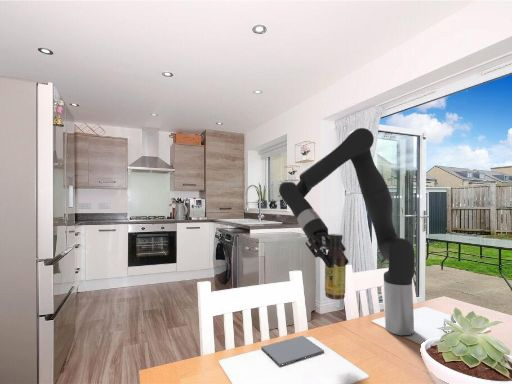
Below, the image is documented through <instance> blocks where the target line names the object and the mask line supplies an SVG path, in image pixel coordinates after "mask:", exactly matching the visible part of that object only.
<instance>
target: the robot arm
mask: <svg viewBox="0 0 512 384" xmlns="http://www.w3.org/2000/svg"><path fill="white" fill-rule="evenodd" d="M374 138H375V137H374V135H373V133H372V131H371V130H369V129H368V128H365V127H358V128H354V129H353V130H351V131H350V132H349V133H348V134H347V136H346V138H345V139H344V140H343V141H342V142H341V143H340V144H338V146H337V147H335V148H334V149H333V150H332V151H331V152H329V153H328V154H326V155H325V156H323V157H322V158H321V159H319V160H317V161H316V162H315V163H313V164H311V166H309V167H308V168H307V169H305V170H304V171H303V172H301V173H300V175H299V181H298V182H297V184H296V183H295V182H294V181H292V180H285V181H283V182H281V183H280V185H279V189H278V193H279V195H280V197H281V198H282V199H283V201H284V202H285V204H286V205H287V206H288V207H289V209H290V210H291V212H292V214H293V216H294V217H295V219H296V221H297V222H298V225H299V227H300V228H301V230H302V232H303V233H304V234H305V237H306V238H307V240H306V241H305V245H306V247H307V248H308V249H309V251H310V252H311V254H312V255H313V257H314V258H319V259H321V260H322V261H323V263H324V265H325V264H326V266H327V267H328V268H331V267H332V266H333V265H334V263H333V262H332V260H331V259H330V257H329V256H328V254H327V253H328V252H327V251H328V250H329V246H330V239H329V234H330V233H329V228H328V227H327V225H326V224H325V222H324V221H323V220H322V218H321V216H320V215H319V214H318V213H317V212H316V211H315V209H314V208H313V207H312V206H311V204H310V202H309V201H307V199H306V198H305V197H306V196H307V195H308V194H309V193H310V192H311V190H312V189H313V188H314V187H316V186H317V185H318V184H320V183H322V181H324V180H325V179H326V178H327V177H329V176H330V175H331V174H332V173H333V172H335V171H336V170H337V169H339V168H340V167H341V166H343V165H344V164H345V163H347V162H348V161H351V163H352V165H353V168H354V171H355V174H356V177H357V178H356V179H357V182H358V186H359V189H360V192H361V195H362V199H363V201H364V205H365V206H366V209H367V211H368V215H369V218H370V220H371V224H372V226H373V230H374V233H375V237H376V242H377V243H376V244H377V247H378V251H379V253H380V256H382V257H383V258H384V259H385V260H386V261H388V270H387V271H385V272H383V294H384V295H383V296H384V299H383V300H384V320H385V321H384V324H385V325H384V326H385V329H386V331H387V332H389V333H391V334H393V335H397V336H402V335H410V336H412V335H411V334H413V333H414V334H415V321H414V319H415V317H414V291H413V279H414V276H415V264H416V263H415V261H416V259H415V258H416V257H415V256H416V253H415V248H414V246H413V244H412V242H411V241H410V240H407V239H405V238H402V237H398V234H397V232H396V230H395V227H394V224H393V218H392V217H393V216H392V215H393V200H392V195H391V193H390V190H389V187H388V185H387V184H388V183H387V182H386V180H385V178H384V176H383V175H382V173H380V171H379V169H378V168H377V166H376V164H375V162H374V159H373V156H372V151H371V148H372V146H373V145H374V140H375V139H374ZM346 250H347V249H346V246H345V245H344V244H343V243H342V251H343V253H344V252H345V251H346ZM348 264H349V260H348V257H347V256H346V255H345V265H346V266H347V265H348ZM414 334H413V335H414Z"/></svg>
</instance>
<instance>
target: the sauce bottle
mask: <svg viewBox="0 0 512 384" xmlns="http://www.w3.org/2000/svg"><path fill="white" fill-rule="evenodd" d="M328 234H329V239H330V246H329V250H327V252H326V253H327V254H328V256H329V257H330V259H331V260H332V262H333V263H334V265H333V266H332V267H331V268H328V267H327V266H326V264H325V263H324V267H325V268H324V291H325V292H324V293H325V297H326V298H328V299H330V300H337V301H338V300H344V299H345V297H346V268H347V267H346V266H347V265H345V256H346V255H345V254H344V252H343V251H342V244H343V234H340V233H328ZM327 254H326V255H327Z"/></svg>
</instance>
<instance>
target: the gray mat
mask: <svg viewBox="0 0 512 384" xmlns="http://www.w3.org/2000/svg"><path fill="white" fill-rule="evenodd" d="M261 350H264V351H265V352H266V353H265V354H267V355H268V354H269V355H270V356H271V357H272V358H273V359H274V360H275V361H276V362H277V363H278V364H279V365H282V364H286V363H289V362H292V363H294V362H293V361H295V362H297V361H296V360H298V361H300V360H299V359H301V360H303V359H302V358H305V357H308V358H310V357H309V356H311V357H314V356H317V355H320V354H322V353H325V349H322V348H321V347H320V346H319V345H318V344H316V343H314V342H313V341H311V340H310V339H308V338H307V337H306V336H304V335H300V336H296V337H292V338H289V339H285V340H281V341H277V342H273V343H270V344H266V345H262V346H261ZM264 351H263V352H264ZM319 353H320V354H319ZM316 354H317V355H316ZM269 355H268V356H269ZM313 355H314V356H313ZM270 356H269V357H270ZM271 357H270V358H271ZM272 358H271V359H272ZM273 359H272V360H273ZM305 359H306V358H305ZM274 360H273V361H274ZM275 361H274V362H275ZM276 362H275V363H276ZM277 363H276V364H277ZM278 364H277V365H278ZM289 364H290V363H289ZM279 365H278V366H279ZM286 365H287V364H286Z"/></svg>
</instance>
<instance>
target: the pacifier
mask: <svg viewBox="0 0 512 384" xmlns="http://www.w3.org/2000/svg"><path fill="white" fill-rule="evenodd" d="M450 322H451V323H452V322H453V323H456V321H455V320H454V318H453V315H452V314H451V315H450ZM445 326H446V324H445V321H444V322H443V327H445ZM447 331H448V330H447ZM447 331H444V332H445V333H447Z"/></svg>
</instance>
